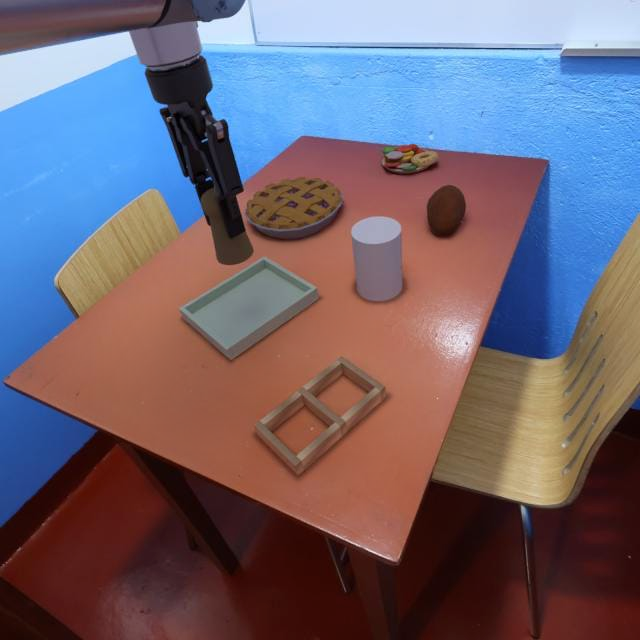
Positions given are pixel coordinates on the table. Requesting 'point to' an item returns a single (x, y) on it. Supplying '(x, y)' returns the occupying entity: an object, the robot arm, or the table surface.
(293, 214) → the pie
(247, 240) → the brown pawn
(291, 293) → the tray
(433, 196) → the potato
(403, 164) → the toy food set
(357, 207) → the table surface
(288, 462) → the two-slot wooden frame
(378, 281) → the cup
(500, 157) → the table surface
